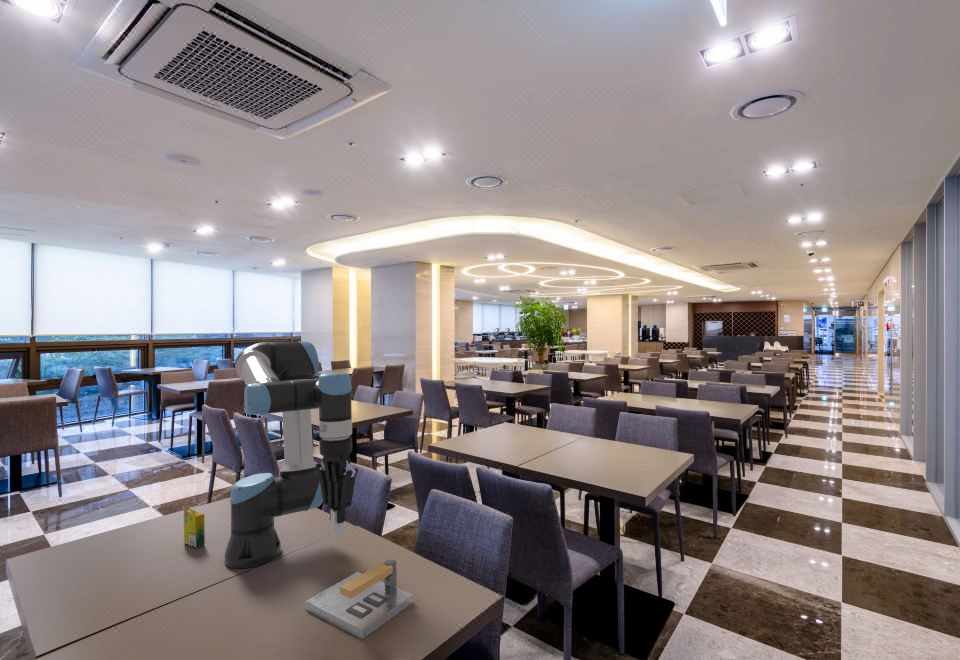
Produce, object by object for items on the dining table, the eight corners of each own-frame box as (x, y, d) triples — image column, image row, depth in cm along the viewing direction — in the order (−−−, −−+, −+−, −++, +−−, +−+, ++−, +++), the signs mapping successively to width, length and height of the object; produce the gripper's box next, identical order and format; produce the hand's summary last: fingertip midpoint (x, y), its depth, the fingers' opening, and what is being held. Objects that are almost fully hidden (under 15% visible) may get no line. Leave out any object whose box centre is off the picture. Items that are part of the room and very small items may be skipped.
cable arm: (389, 564, 117) (389, 558, 117) (399, 568, 115) (399, 562, 115) (340, 593, 104) (339, 586, 104) (350, 598, 102) (350, 591, 102)
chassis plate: (305, 609, 110) (305, 601, 110) (357, 579, 123) (357, 571, 123) (362, 639, 99) (362, 630, 99) (412, 602, 112) (412, 594, 112)
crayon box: (205, 545, 146) (204, 508, 146) (195, 548, 143) (195, 511, 143) (193, 539, 150) (193, 504, 150) (183, 543, 147) (183, 506, 147)
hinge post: (382, 599, 114) (381, 571, 114) (390, 593, 116) (390, 566, 116) (390, 602, 112) (390, 575, 112) (399, 596, 115) (399, 569, 115)
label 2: (363, 600, 110) (362, 598, 110) (373, 593, 113) (373, 591, 113) (377, 606, 107) (377, 605, 107) (388, 599, 110) (388, 597, 110)
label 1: (346, 610, 106) (346, 609, 106) (358, 603, 109) (358, 601, 109) (361, 617, 103) (361, 616, 103) (372, 610, 106) (372, 608, 106)
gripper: (305, 437, 111) (307, 535, 111) (341, 443, 104) (342, 548, 103) (331, 431, 117) (333, 524, 117) (366, 436, 110) (368, 535, 110)
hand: (337, 535), depth 110 cm, fingers closed
